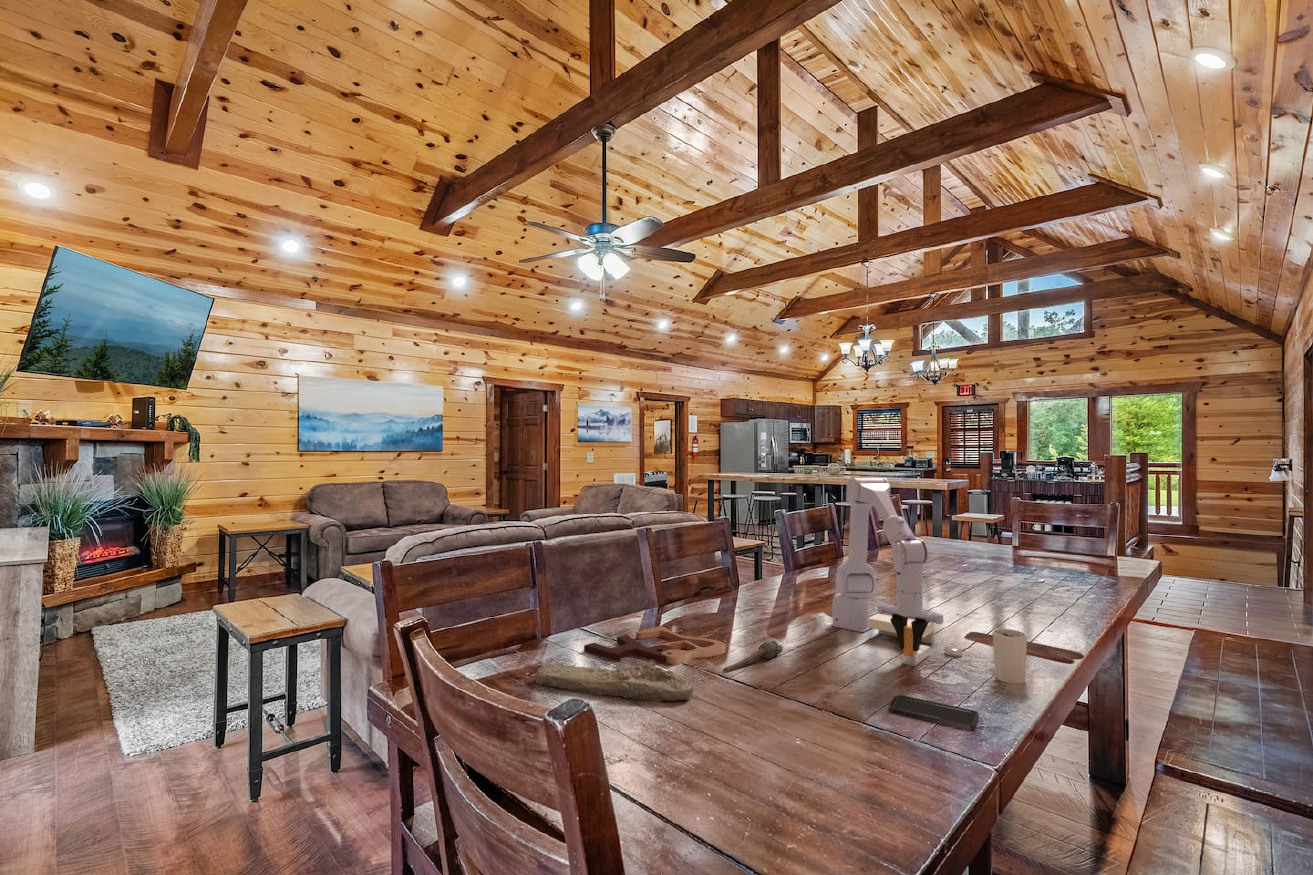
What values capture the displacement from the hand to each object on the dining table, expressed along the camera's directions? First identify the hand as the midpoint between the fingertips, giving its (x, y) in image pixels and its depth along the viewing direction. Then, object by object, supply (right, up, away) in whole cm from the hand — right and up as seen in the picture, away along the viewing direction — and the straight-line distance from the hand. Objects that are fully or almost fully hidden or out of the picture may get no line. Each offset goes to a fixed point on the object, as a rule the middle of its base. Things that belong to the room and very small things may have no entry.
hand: (909, 648), depth 145 cm
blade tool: (+3, -4, +3) cm, 6 cm away
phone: (-7, -4, -27) cm, 28 cm away
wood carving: (-59, -4, +8) cm, 60 cm away
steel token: (+14, -4, +7) cm, 16 cm away
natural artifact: (-36, -4, +2) cm, 36 cm away
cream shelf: (+5, -4, +18) cm, 19 cm away
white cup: (+18, -4, -9) cm, 21 cm away
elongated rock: (-69, -4, -16) cm, 71 cm away
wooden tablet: (+33, -5, +13) cm, 36 cm away
